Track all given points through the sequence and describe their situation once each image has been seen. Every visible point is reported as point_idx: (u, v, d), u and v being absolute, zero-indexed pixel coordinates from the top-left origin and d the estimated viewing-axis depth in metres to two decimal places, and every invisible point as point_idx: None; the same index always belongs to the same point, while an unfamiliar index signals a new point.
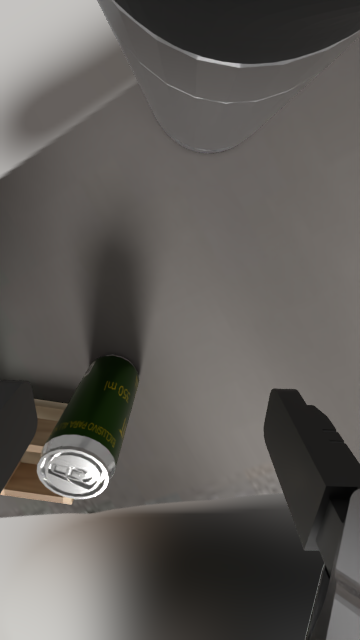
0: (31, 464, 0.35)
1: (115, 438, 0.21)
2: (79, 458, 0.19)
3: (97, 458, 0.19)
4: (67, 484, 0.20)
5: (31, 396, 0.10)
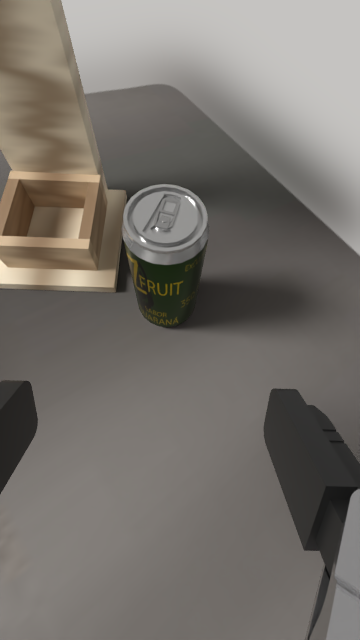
0: (31, 215, 0.30)
1: (186, 271, 0.18)
2: (194, 223, 0.17)
3: (196, 240, 0.16)
4: (148, 210, 0.17)
5: (31, 396, 0.10)
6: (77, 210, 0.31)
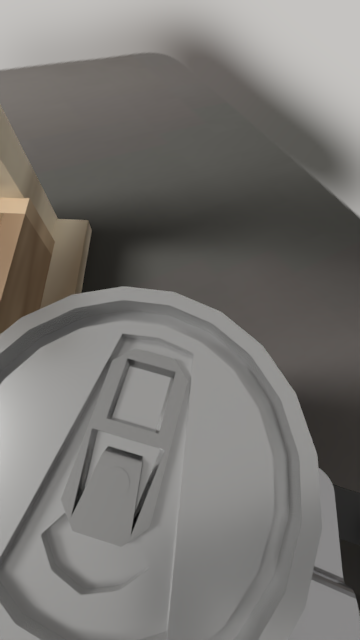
0: None
1: None
2: (262, 513, 0.03)
3: (280, 637, 0.03)
4: (41, 431, 0.04)
5: None
6: None
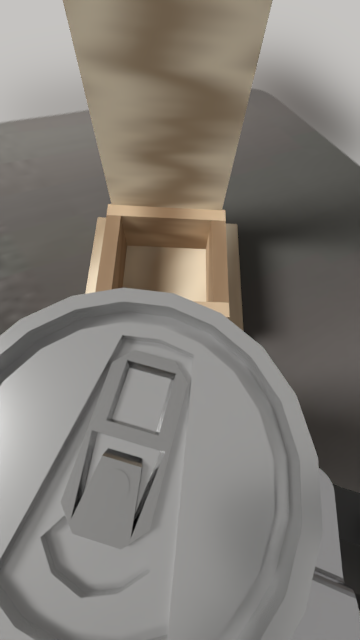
0: (125, 258, 0.23)
1: None
2: (262, 516, 0.03)
3: None
4: (40, 433, 0.04)
5: None
6: (181, 251, 0.24)
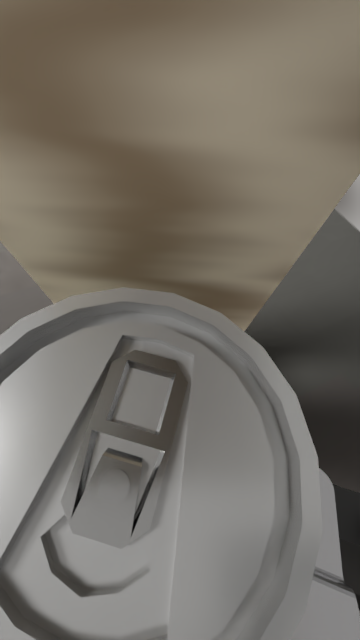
0: None
1: None
2: (262, 515, 0.03)
3: None
4: (40, 433, 0.04)
5: None
6: None
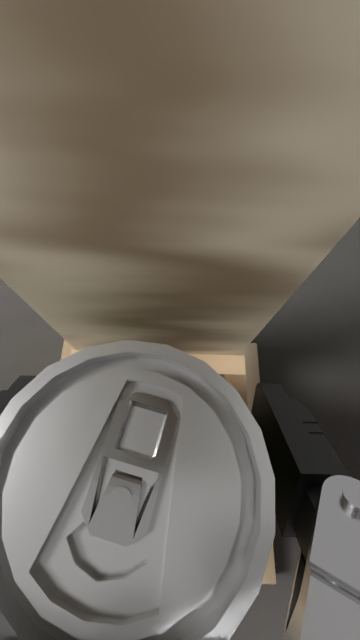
0: None
1: None
2: (231, 522, 0.05)
3: (241, 612, 0.04)
4: (65, 459, 0.05)
5: None
6: None
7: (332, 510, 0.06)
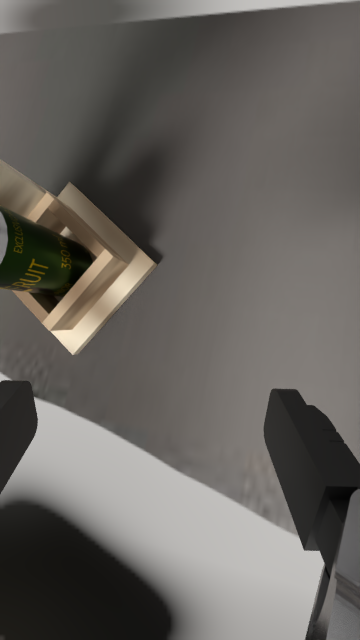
0: None
1: (22, 252, 0.18)
2: None
3: None
4: None
5: (31, 396, 0.10)
6: None
7: None
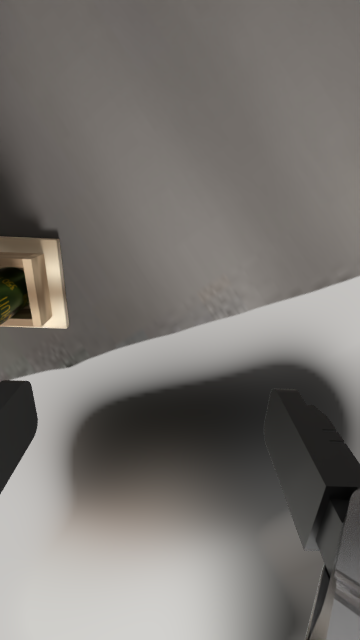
0: None
1: None
2: None
3: None
4: None
5: (31, 396, 0.10)
6: None
7: None
